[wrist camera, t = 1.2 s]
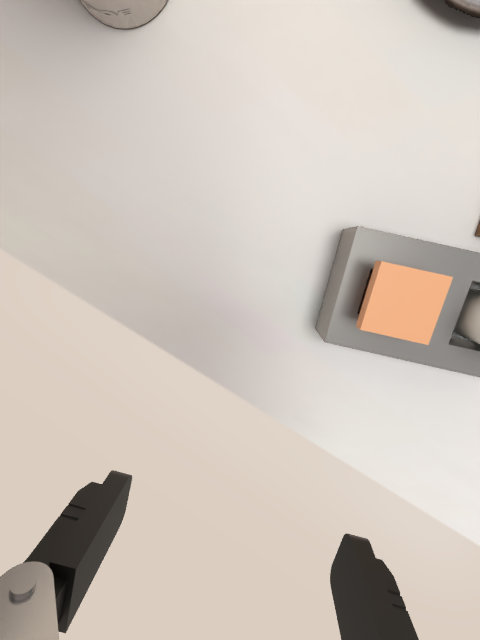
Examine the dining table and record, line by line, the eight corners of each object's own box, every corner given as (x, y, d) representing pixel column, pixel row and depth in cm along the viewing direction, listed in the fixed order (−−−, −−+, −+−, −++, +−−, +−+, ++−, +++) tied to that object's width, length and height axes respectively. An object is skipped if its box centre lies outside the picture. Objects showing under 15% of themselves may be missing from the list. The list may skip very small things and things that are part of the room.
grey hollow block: (343, 229, 31) (357, 226, 26) (529, 270, 31) (579, 274, 26) (315, 328, 33) (324, 341, 29) (488, 367, 33) (527, 388, 28)
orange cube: (361, 258, 28) (381, 261, 23) (421, 272, 28) (453, 277, 23) (344, 316, 29) (360, 329, 24) (401, 329, 29) (428, 345, 24)
